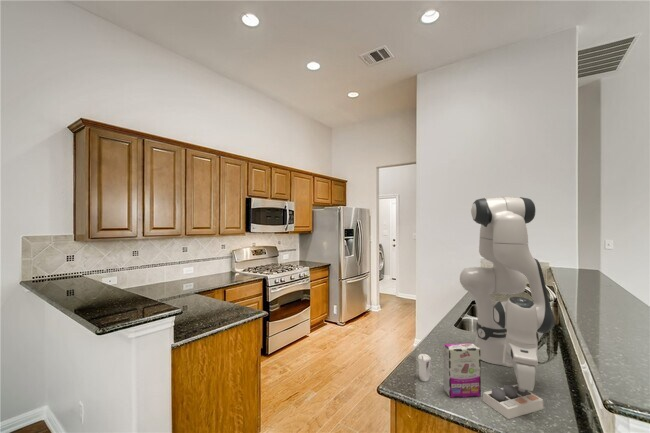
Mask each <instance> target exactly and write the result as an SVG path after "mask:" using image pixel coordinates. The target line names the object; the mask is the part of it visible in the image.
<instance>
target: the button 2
mask: <svg viewBox="0 0 650 433" xmlns="http://www.w3.org/2000/svg"><path fill="white" fill-rule="evenodd" d="M515 388H516V389H517V393H518V394H519V395H521V396H526V395H528V391H529V390H525V392H521V391H519V389H518V386H515Z"/></svg>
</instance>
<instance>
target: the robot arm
mask: <svg viewBox="0 0 650 433" xmlns="http://www.w3.org/2000/svg"><path fill="white" fill-rule="evenodd" d="M470 213H471V217H472V220H473V222H475V223H476V224H478V225H480V229H479V242H478V243H479V246H478V252H479V255H480V256H481V257H482V258H483V259H485V260H486V261H489V262H490V263H492V264H493V266H492V267H481V266H473V267H467V268H464V269H463V270H461V272H460V275H459V283H460V284H461V287H462V288H463V289H464V290H465V291H467V292H468V293H469V294H470V296H472V298H473V299H474V300H473V301H474V302H475V304H476V311H477V321H476V324H475V327H476V329H475V330H476V333H475V340H474V341H475V342H474V344H475V345H476V346H477V347H479V348H480V361H483V362H486V363H488V364H493V365H499V366H504V367H507V368H513V372H514V374H515V378H516V380H517V381H516V382H517V386H518V389H519V391H521V392H525V390H528V391H529V392H531V391H532V392H533V391H534V388H535V383H536V369H537V368H536V367H537V366H538V365H539V360H538V359H539V358H538V357H539V356H538V353H539V352H538V344H539V343H538V338H537V333H540V334H546V333H548V332H550V331H551V330H552V329H553V328H554V327H555V325H556V321H555V315H554V312H553V309H552V306H551V304H550V299H549V296H548V294H549V293H548V290H547V286H546V282H545V281H546V280H545V277H544V273H543V272H544V271H543V269H542V266H541V263H540V261H539V260H538V259H536V258H534V257H533V255H532V253H531V251H530V248H529V235H528V230H527V229H528V228H527V225H526V224H529V223H531V222H533V220H534V219H535V216H536V206H535V202H534V201H533V200H532V199H530V198H528V197H523V196H522V197H512V196H500V197H489V198H485V197H483V198H479V199H475V201H474V202H473V203H472V205H471V209H470ZM527 281H528V284H527ZM527 285H529V289H530V290H529V291H530V294H531V299H532V300H531V299H529V298H526V297H523V296H522V297H521V296H512V297H509V298H507V300H504V301H497V300H495V299H493V298H492V294H496V295H497V294H498V295H499V294H500V295H515V294H522V293H523V292H525V290H526V288H527Z"/></svg>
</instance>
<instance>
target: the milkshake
mask: <svg viewBox="0 0 650 433" xmlns="http://www.w3.org/2000/svg"><path fill="white" fill-rule="evenodd" d="M431 359H432V358H431V356H430V355H428V354H426V353H419V355H418V356H417V361H418V372H419V374H418V375H419V380H420V381H421V382H429V380H430V370H431V361H432V360H431Z"/></svg>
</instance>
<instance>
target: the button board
mask: <svg viewBox="0 0 650 433" xmlns="http://www.w3.org/2000/svg"><path fill="white" fill-rule="evenodd" d="M511 386H513V387H515V386H517V384H513V385H511ZM499 388H500V387H499ZM500 389H502V390H503V387H501V388H500ZM482 395H483V399H482V400H483V402H484V403H485V404H486V405H488V406H489V407H490V408H492V409H493V410H495V411H496V412H497V413H499V414H500V415H502V416H503V417H505V418H506V419H507V420H510V419H514V418H517V417H521V416H523V415H524V416H525V415H527V414H530V413H531V414H532V413H534V412H538V411H541V410H544V399H543V398H542V397H540V396H538V395H536V394H534V393H533V392H531V391H529V390H528V395H526V396H521V395H519V394H518V393H517V398H515V399H510V398H508V397H507V396H505V401H503V402H498V401H496V400H495V399H493V398H492V389H491V390H487V391H484V392H483V393H482Z"/></svg>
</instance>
